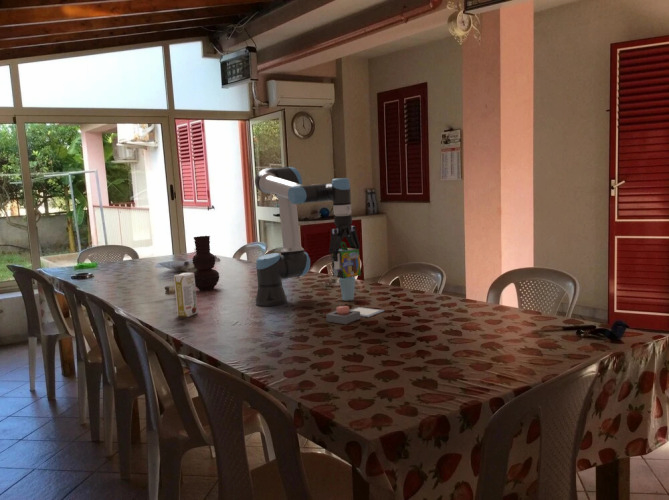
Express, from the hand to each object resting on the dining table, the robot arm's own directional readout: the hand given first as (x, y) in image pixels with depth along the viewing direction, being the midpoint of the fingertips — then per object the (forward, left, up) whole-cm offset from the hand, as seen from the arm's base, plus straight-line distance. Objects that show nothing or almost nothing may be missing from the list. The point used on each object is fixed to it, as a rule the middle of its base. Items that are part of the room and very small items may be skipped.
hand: (346, 266), depth 244 cm
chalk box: (0, 0, -4) cm, 4 cm away
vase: (-106, +8, -21) cm, 108 cm away
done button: (+4, -9, -18) cm, 20 cm away
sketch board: (+4, +5, -21) cm, 22 cm away
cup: (-18, +23, -21) cm, 36 cm away
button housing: (+4, -9, -21) cm, 23 cm away
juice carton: (-67, -34, -21) cm, 78 cm away
